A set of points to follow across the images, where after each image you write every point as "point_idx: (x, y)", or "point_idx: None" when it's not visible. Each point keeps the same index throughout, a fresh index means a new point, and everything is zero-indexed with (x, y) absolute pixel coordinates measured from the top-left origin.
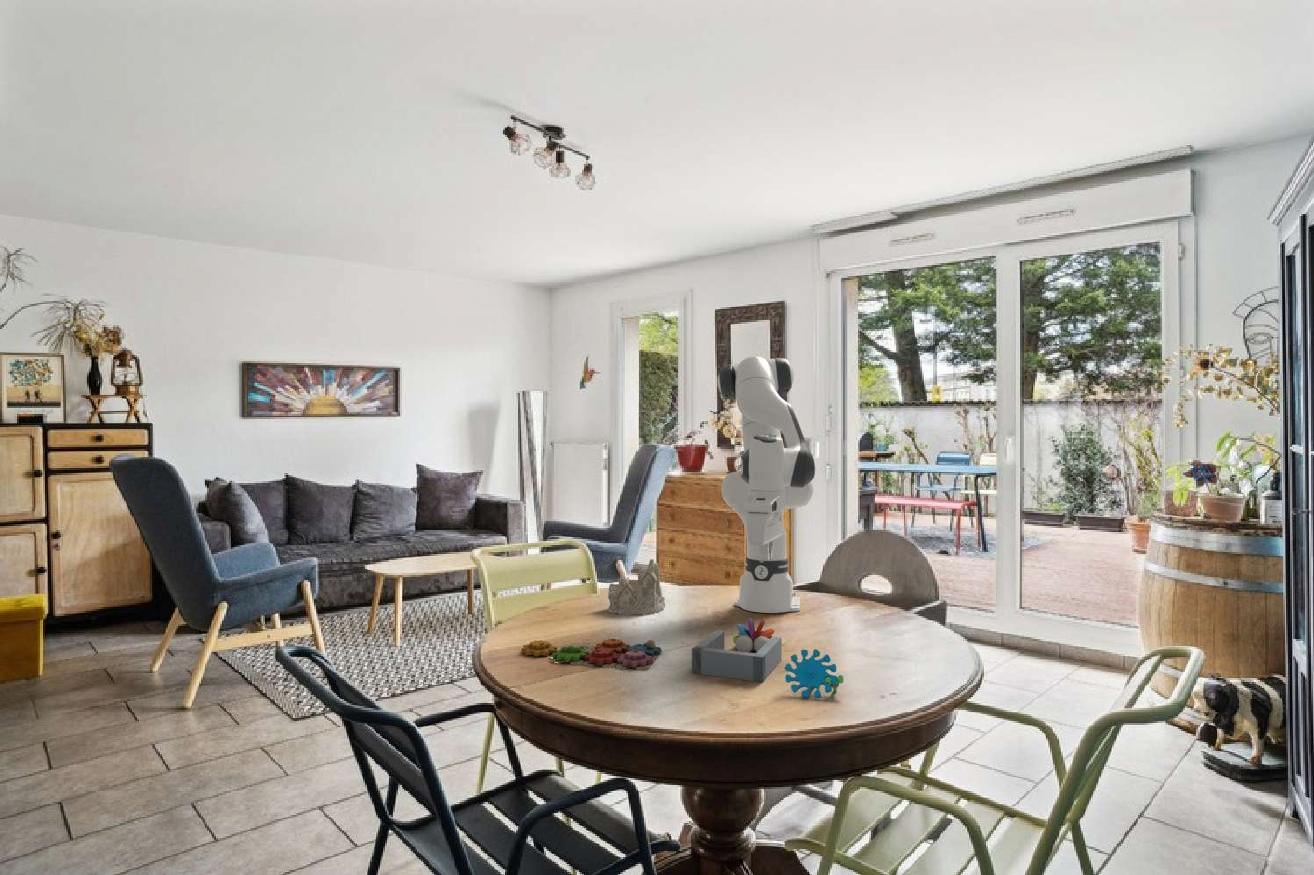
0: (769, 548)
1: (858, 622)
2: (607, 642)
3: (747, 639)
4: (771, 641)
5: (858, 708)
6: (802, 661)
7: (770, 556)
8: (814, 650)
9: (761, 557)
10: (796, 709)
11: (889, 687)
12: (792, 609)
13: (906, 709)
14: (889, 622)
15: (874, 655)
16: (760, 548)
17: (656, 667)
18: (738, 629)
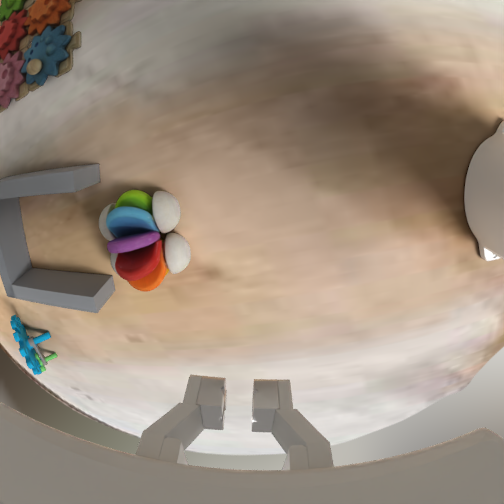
0: (281, 437)
1: (414, 359)
2: (33, 6)
3: (104, 236)
4: (66, 299)
5: None
6: (19, 344)
7: (252, 410)
8: (27, 364)
9: (188, 384)
10: (2, 319)
11: (102, 398)
12: (481, 248)
13: (63, 397)
14: (413, 389)
15: None
16: (154, 425)
17: (8, 115)
18: (107, 215)
